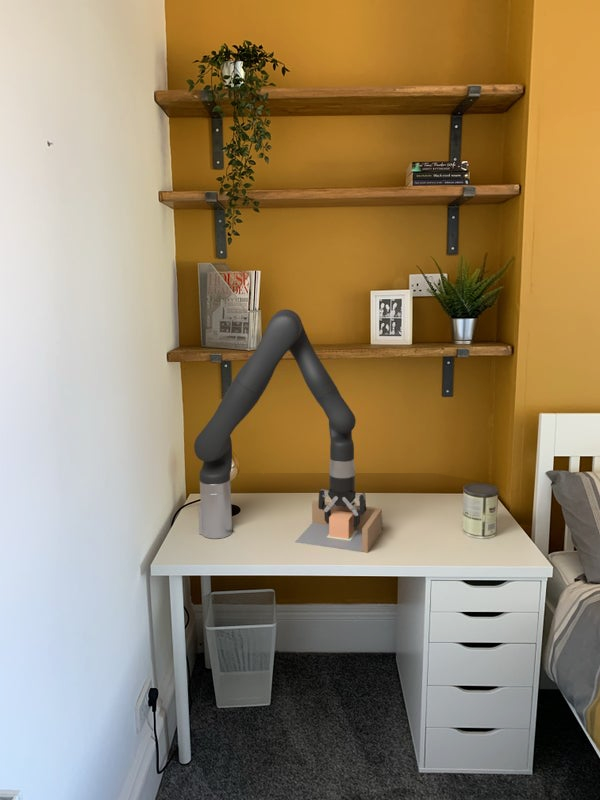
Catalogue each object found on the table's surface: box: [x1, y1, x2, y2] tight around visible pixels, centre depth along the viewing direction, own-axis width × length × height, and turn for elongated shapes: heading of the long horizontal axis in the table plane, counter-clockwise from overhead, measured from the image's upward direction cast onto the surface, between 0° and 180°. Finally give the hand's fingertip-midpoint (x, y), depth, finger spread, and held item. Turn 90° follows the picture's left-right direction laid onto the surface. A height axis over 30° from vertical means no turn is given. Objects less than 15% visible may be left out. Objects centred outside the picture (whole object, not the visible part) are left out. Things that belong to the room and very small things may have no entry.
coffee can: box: [461, 482, 499, 540], centre depth 189 cm, size 10×10×14 cm
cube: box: [329, 511, 354, 539], centre depth 187 cm, size 6×6×6 cm
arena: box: [294, 500, 383, 554], centre depth 186 cm, size 22×17×8 cm
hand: (342, 524), depth 187 cm, fingers open, 8 cm apart
